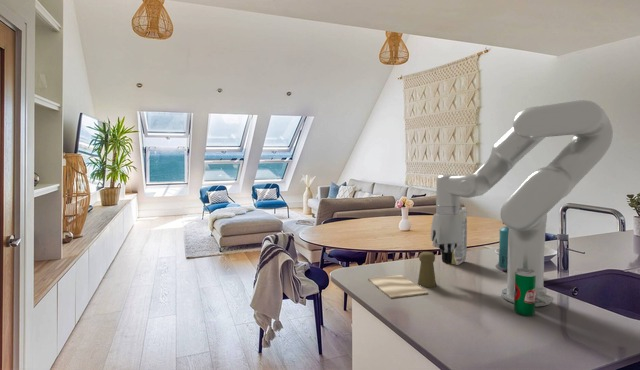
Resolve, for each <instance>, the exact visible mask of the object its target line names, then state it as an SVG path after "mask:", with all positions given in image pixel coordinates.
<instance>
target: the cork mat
mask: <svg viewBox="0 0 640 370" xmlns="http://www.w3.org/2000/svg"><path fill="white" fill-rule="evenodd" d="M367 280H368V281H369V282H370V283H371V284H372V285H374V286H375V287H376V288H377V289H378V290H379V291H381V292H382V293H383V294H385V295H386V296H387V297H388V298H389V299H396V298H397V299H398V298H405V297H413V296H421V295H428V294H429V292H428V291H427V290H425V289H424V288H422V286H420V285H418V284H416V283H415V282H413V281H411V280H410V279H408V278H407V277H406V276H404V275H402V274H397V275H388V276H379V277H370V278H369V277H368V278H367Z"/></svg>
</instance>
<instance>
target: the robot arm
mask: <svg viewBox="0 0 640 370" xmlns="http://www.w3.org/2000/svg"><path fill="white" fill-rule="evenodd" d="M613 130H614V129H613V126H612V123H611V121H610V118H609V116H608V114H607V113H606V111H605V110H604V108H602V107H601V106H600V105H599V104H598V103H597V102H594V101H592V100H586V99H585V100H584V99H581V100H573V101H566V102H559V103H558V102H557V103H553V104H552V103H551V104H545V105H537V106H531V107H530V106H529V107H526V108H524V109H521V110H520V111H519V112H518V113H517V114H516V115H515V116H514V119H513V121H512V127H511V128H510V129H508V131H506V133H505V134H503V136H501V137H500V139H498V140H497V141H496V142H495V143H494V144H493V146H491V150H490V151H491V152H490V156H489V157H488V158H487V160H486V162H484V163H483V165H481V167H479V169H477V170H476V171H475V172H474V173H471V174H470V173H469V174H462V175H458V174H440V175H438V176H437V177H436V199H435V200H436V201H435V204H436V206H435V207H436V209H435V211H436V212H435V213H434V214H433V217H432V221H431V226H430V227H431V229H430V240H431V241H432V246H433V247H435V248H438V249H439V250H440V251H441V261H442V263H444V264H446V265H450V264H451V263H452V252H454V249H455V248H456V247H457V246H460V245H461V244H462V242H461V241H462V239H463V226H462V218H461V215H460V214H459V212H460V210H462V207H463V206H461V205H460V201H461V200H460V198H464V199H465V198H467V199H470V198H475V197H479V196H483V195H484V194H486V193H487V192H488V191H490V190H491V189H492V188H493V187H495V185H497V184H498V183H499V182H500V181H501V180H502V179H503V178H504V177H505V176H506V175H507V174H508V173H509V172H510V171H511V170H512V169H513V168H514V167H515V165H516V164H517V163H519V162H520V161H521V160H522V159H523V158H524V157H525V156H526V155H527V154H528V153H530V151H532V150H533V149H534V148H535V147H537V145H539V143H541V142H542V141H543V140H545V138H550V137H552V138H553V137H562V136H572V135H573V137H572V139H571V140H570V141H569V143H568V144H567V145H566V146H564V148H562V150H561V151H560V152H559V153H558V155H556V156H555V158H554V159H553V160H552V161H551V162H550V163H549V164H547V165H546V166H544V167H540V168H538V169H536V170H535V171H533V172H532V173H531V174H530V175H529V176H528V177H527V178H526V179H525V180H524V181H523V183H521V184H520V186H519V187H518V188H517V189H515V190H514V192H513V193H512V194H511V195H510V196H509V197H508V198H507V199H506V200H505V202H504V203H503V204H502V206H501V208H500V214H499V215H500V219H501V222H502V224H503V223H504V224H503V225H505V227H508V228H509V233H508V264H507V269H506V270H507V271H506V273H507V274H506V275H507V276H506V277H507V278H506V288H503V289H502V290H501V291H500V295H501V297H502V299H504V300H506V301H508V302H510V303H513V304H514V279H515V272H516V269H517V268H527V269H531V270H534V273H535V275H536V294H535V307H545V306H547V305H548V306H549V305H550V304H551V303H552V302H553V300H555V299H554V297H553V296H552V295H550V294H547V288H545V287H544V277H545V276H544V275H545V274H544V273H545V250H546V249H545V248H546V246H545V245H546V230H547V229H546V227H547V221H548V213H549V212H550V211H551V210H552V209H553V208H554V207H555V206H556V205H558V203H559V202H560V201H561V200H562V199H564V198H566V197H567V196H568V195H570V194H571V192H572V191H573V189H574V188H575V187H576V186H577V185H578V184H579V183H580V182H581V181H582V179H584V178H585V177H586V175H587V174H589V173H590V171H591V170H593V168H595V166H596V165H597V164H598V163H599V162H600V161H601V160H602V159H603V157H605V155H606V154H607V152H608V151H609V149H610V147H611V144H612V141H613V133H614V131H613ZM451 265H452V264H451Z"/></svg>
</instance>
